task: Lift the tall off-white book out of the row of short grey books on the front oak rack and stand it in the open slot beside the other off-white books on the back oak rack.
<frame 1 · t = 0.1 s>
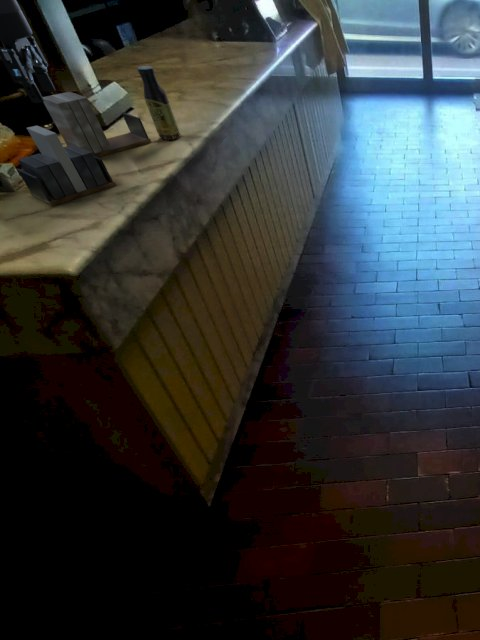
hand: (44, 96, 115), 24 cm above the worktop, tool pointing down, fingers open, 8 cm apart
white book: (73, 186, 134), point 1 cm above the worktop, touching grey book rack
grey book rack: (75, 190, 135), on the worktop
white book rack: (110, 147, 157), on the worktop
sauce bottle: (171, 138, 165), on the worktop
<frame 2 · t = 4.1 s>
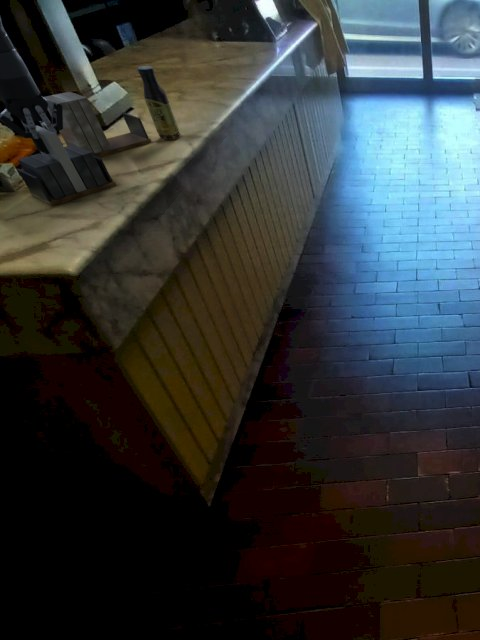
hand: (52, 151, 128), 10 cm above the worktop, tool pointing down, fingers closed on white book, 2 cm apart
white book: (72, 186, 134), point 1 cm above the worktop, touching grey book rack, gripper
everything else where it was.
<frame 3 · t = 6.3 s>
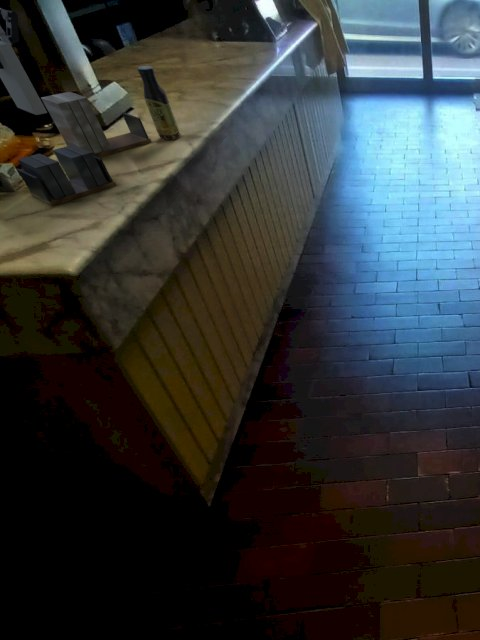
hand: (7, 66, 116), 28 cm above the worktop, tool pointing down, fingers closed on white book, 2 cm apart
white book: (32, 110, 122), point 19 cm above the worktop, touching gripper
everything else where it was.
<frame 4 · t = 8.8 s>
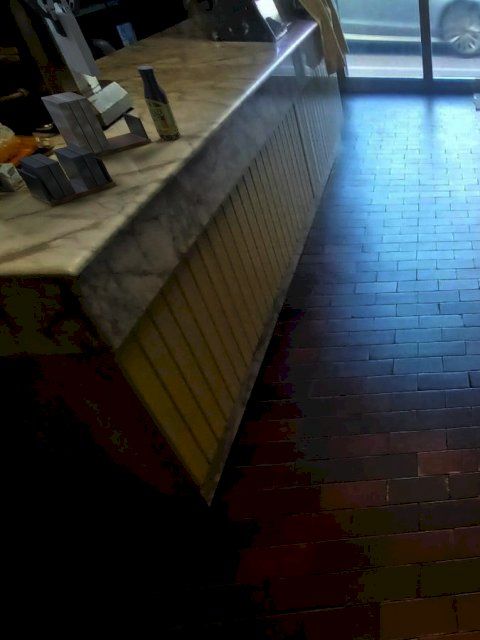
hand: (70, 35, 138), 29 cm above the worktop, tool pointing down, fingers closed on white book, 2 cm apart
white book: (88, 73, 145), point 20 cm above the worktop, touching gripper
everything else where it was.
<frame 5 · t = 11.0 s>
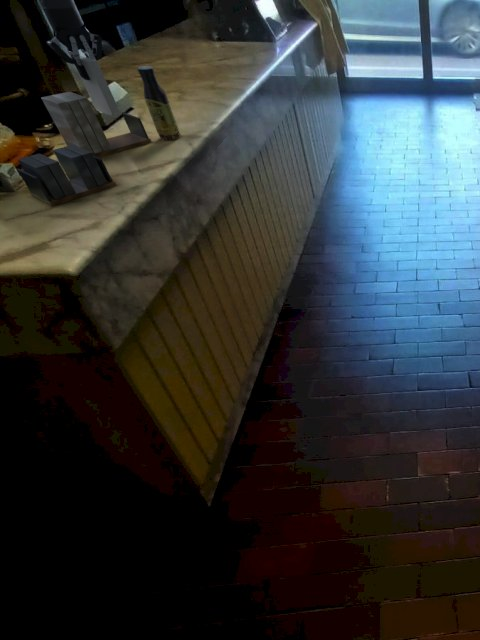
hand: (92, 78, 147), 18 cm above the worktop, tool pointing down, fingers closed on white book, 2 cm apart
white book: (108, 112, 153), point 9 cm above the worktop, touching gripper
everything else where it was.
when the fingers open (10 cm above the worktop, at t = 13.3 s): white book stays where it is, resting on white book rack.
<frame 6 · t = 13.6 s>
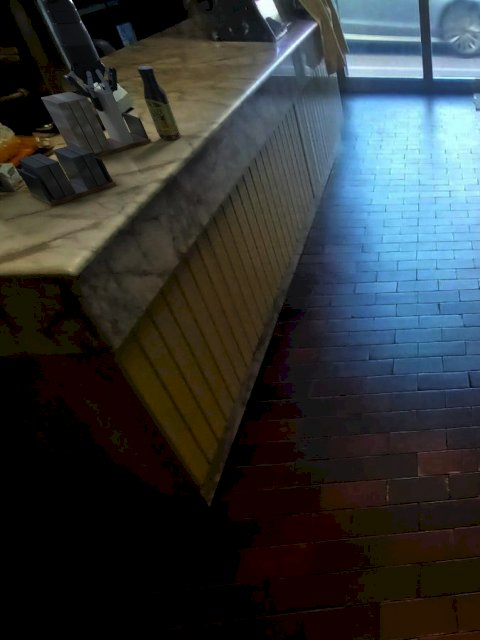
hand: (107, 109, 153), 10 cm above the worktop, tool pointing down, fingers open, 3 cm apart
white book: (122, 140, 159), point 1 cm above the worktop, touching white book rack
everything else where it was.
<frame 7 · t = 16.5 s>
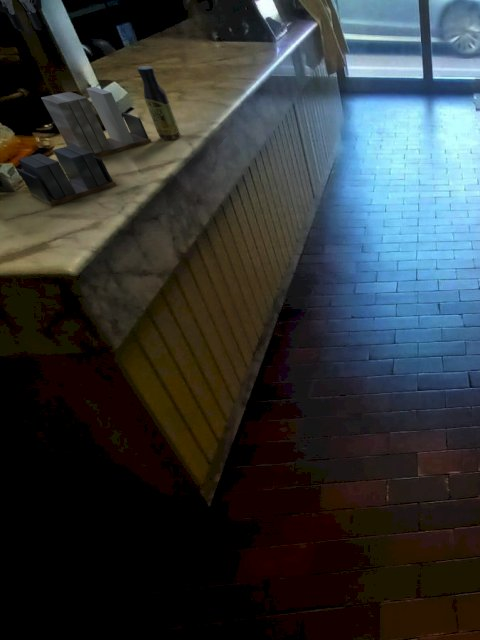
hand: (29, 30, 137), 30 cm above the worktop, tool pointing down, fingers open, 3 cm apart
nothing on the worktop moved.
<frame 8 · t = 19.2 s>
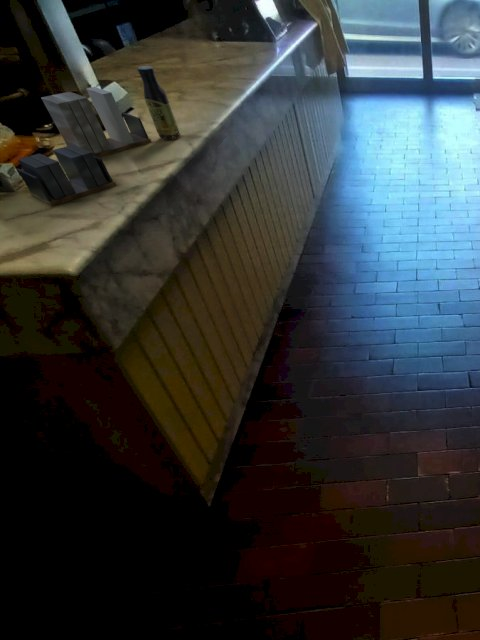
nothing on the worktop moved.
at the end: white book 0.3 cm from the target spot on the white book rack, point 1.0 cm above the white book rack's base; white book tilted 0°; the gripper is holding nothing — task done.
